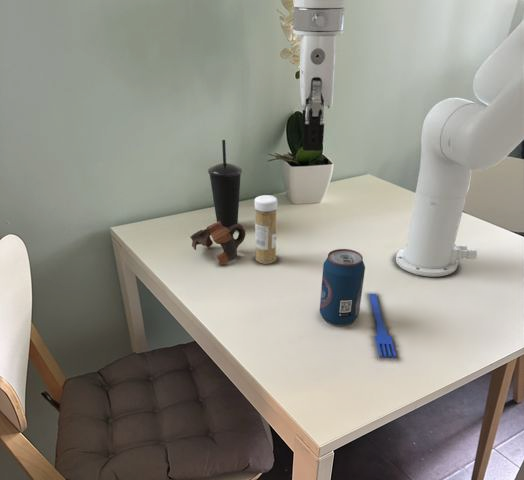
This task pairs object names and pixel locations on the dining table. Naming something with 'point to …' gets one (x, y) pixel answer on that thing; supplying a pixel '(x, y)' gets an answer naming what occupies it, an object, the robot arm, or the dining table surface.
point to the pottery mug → (220, 239)
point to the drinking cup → (225, 190)
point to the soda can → (342, 287)
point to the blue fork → (381, 330)
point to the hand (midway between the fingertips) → (311, 141)
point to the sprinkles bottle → (265, 228)
